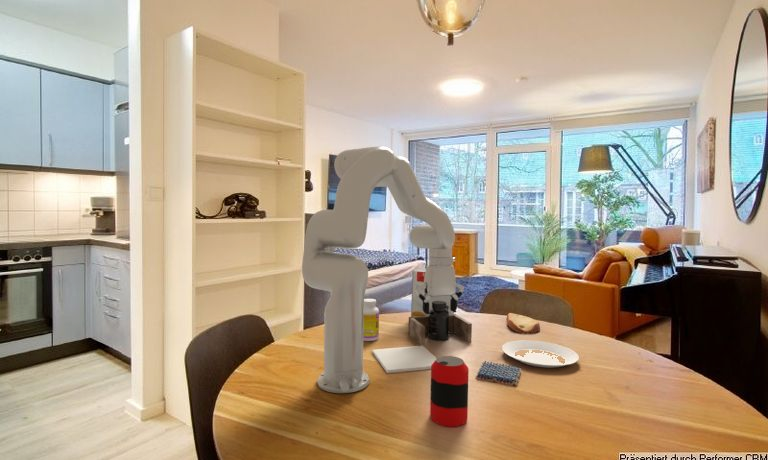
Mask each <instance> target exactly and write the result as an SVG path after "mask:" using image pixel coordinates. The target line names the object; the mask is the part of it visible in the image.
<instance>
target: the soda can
mask: <svg viewBox="0 0 768 460" xmlns="http://www.w3.org/2000/svg"><path fill="white" fill-rule="evenodd" d="M436 358H437V359H436V360H435V361H434V363H433V364H432V365H431V369H430V397H429V399H430V403H429V404H430V405H429V407H430V410H429V417H430V419H432V421H433V422H434V423H435V424H437V425H439V426H442V427H448V428H457V427H460V426H463V425H464V424H465V423H466V422H467V421H468V411H469V410H468V409H469V406H468V404H469V374H470V373H469V367H468V366H467V364H466V362H465V361H464V359H462V358H460V357H458V356H453V355H441V356H438V357H436Z"/></svg>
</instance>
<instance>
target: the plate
mask: <svg viewBox="0 0 768 460" xmlns="http://www.w3.org/2000/svg"><path fill="white" fill-rule="evenodd" d="M501 349H502V352H504V354H506V355H507V356H509V357H511V358H513V359H515V360H517V362H520V363H522V364H524V365H525V364H526V365H528V366H533V367H538V368H539V367H540V368H547V369H549V368H559V367H564V366H568V365H573V364H575V363H577V362H578V361H579V359H580V356H579V354H578V353H577V352H575V351H574V350H572V349H571V348H569V347H567V346H564V345H563V346H562V345H560V344H557V343H553V342H549V341H548V342H547V341H542V340H536V339H535V340H534V339H533V340H532V339H531V340H530V339H529V340H528V339H520V340H519V339H518V340H512V341H507V342H505V343H504V344H503V345H502V346H501ZM519 350H529V353H528V352H527V353H525V354H526V355H524V357H522V356H520V355H517V356H515V352H517V351H519ZM532 350H540V351H543V352H542V353H535V352H533V353H531V352H532ZM544 351H546V352H550V353H552V354H556V355H558V356H561V357H562V358H563V359H565V363H564V364H563V363H561V362H559V360H558V359H557V357H558V356H555V355H552V356H550V354H549V355H547V354H548V353H544ZM543 353H544V354H543ZM552 357H553V359H552ZM555 357H556V358H555Z"/></svg>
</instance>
